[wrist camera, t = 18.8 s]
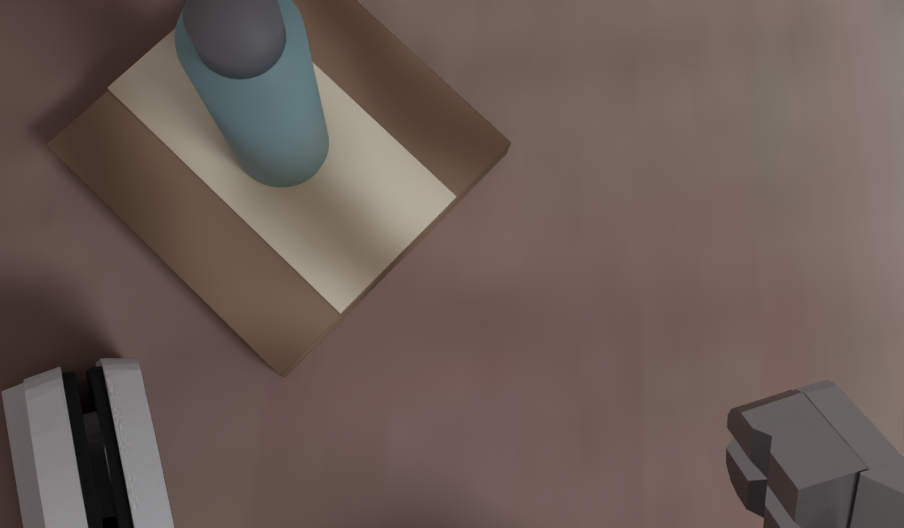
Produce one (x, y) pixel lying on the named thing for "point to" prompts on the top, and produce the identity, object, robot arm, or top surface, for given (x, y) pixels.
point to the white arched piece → (86, 450)
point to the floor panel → (289, 208)
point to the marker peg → (257, 84)
